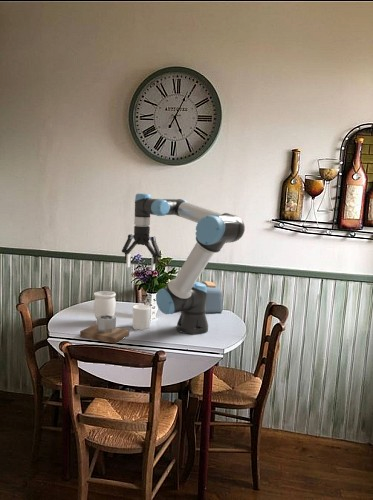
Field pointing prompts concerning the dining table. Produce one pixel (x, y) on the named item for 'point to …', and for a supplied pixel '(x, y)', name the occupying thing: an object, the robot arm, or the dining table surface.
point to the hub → (106, 324)
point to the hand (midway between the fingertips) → (140, 268)
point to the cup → (141, 317)
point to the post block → (104, 334)
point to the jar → (104, 303)
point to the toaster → (213, 298)
